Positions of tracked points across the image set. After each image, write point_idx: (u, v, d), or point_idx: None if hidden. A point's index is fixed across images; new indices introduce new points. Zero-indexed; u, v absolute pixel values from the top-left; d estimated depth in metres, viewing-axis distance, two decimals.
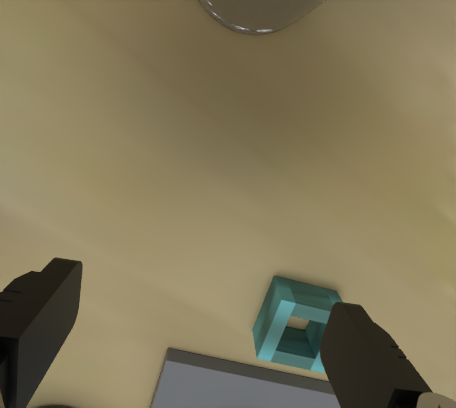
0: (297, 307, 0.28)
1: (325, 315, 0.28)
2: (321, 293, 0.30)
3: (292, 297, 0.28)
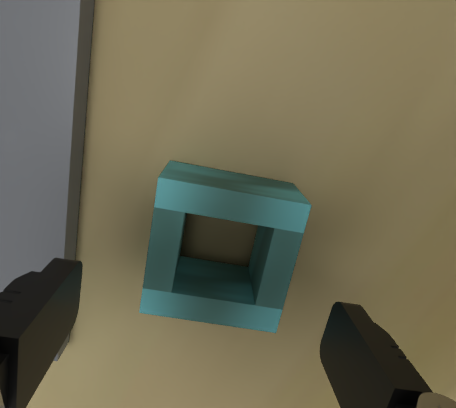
0: (293, 238, 0.14)
1: (276, 290, 0.15)
2: None
3: None
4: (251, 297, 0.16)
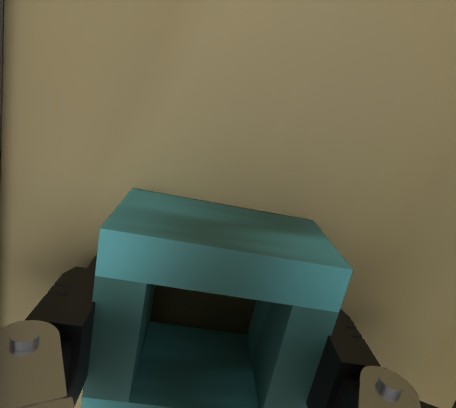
0: (322, 319, 0.09)
1: (294, 395, 0.10)
2: None
3: None
4: (253, 399, 0.10)
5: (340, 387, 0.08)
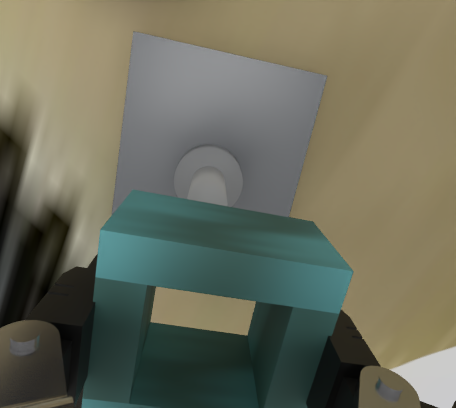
0: (322, 321, 0.09)
1: (294, 397, 0.10)
2: None
3: None
4: (253, 400, 0.10)
5: (340, 387, 0.08)
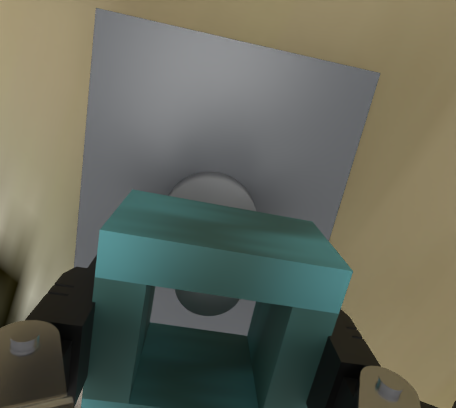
0: (322, 321, 0.09)
1: (293, 397, 0.10)
2: None
3: None
4: (253, 400, 0.10)
5: (340, 387, 0.08)
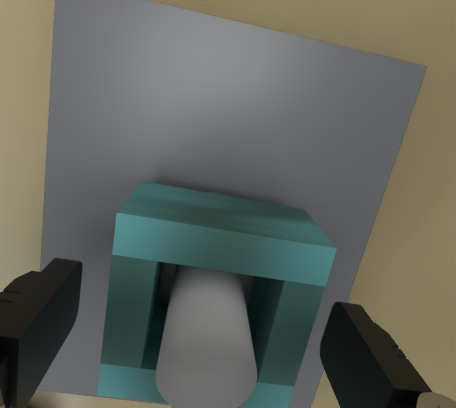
0: (311, 293, 0.10)
1: (287, 362, 0.11)
2: None
3: None
4: None
5: None
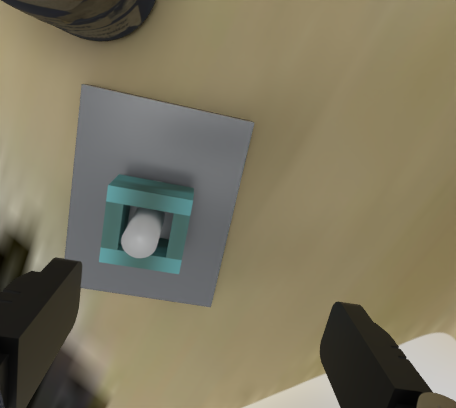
0: (184, 218, 0.26)
1: (177, 248, 0.26)
2: None
3: None
4: (165, 254, 0.27)
5: None
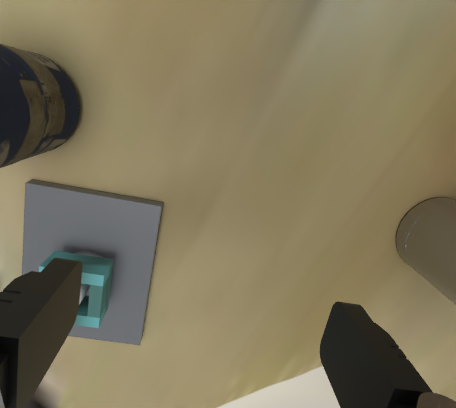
0: (99, 288, 0.34)
1: (95, 310, 0.35)
2: (106, 299, 0.37)
3: (105, 281, 0.35)
4: (88, 312, 0.35)
5: None
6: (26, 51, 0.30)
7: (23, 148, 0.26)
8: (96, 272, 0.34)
